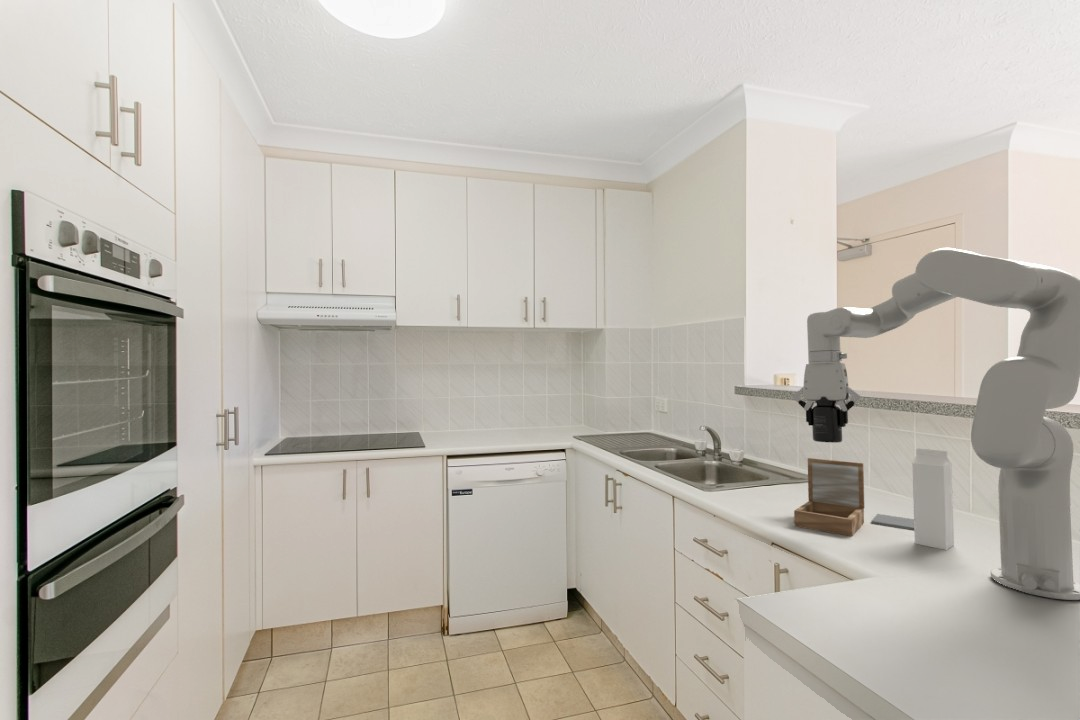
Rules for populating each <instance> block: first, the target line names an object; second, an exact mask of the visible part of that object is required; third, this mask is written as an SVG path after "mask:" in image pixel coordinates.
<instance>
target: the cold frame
mask: <svg viewBox="0 0 1080 720" xmlns="http://www.w3.org/2000/svg"><path fill="white" fill-rule="evenodd" d="M864 480H865V479H864V463H863V462H853V461H845V460H833V459H825V458H824V459H822V458H811V457H808V458H807V487H808V488H807V489H808V498H807V499H808V501H807V502H805V503H803V504H802V505H800V506H799V507H797V508H796V509H795V510H794V511H793V513H794V517H793V519H794V520H793V521H794V527H798V528H802V529H803V528H804V529H808V530H809V529H810V530H814V531H821V532H826V533H831V534H837V535H842V536H843V535H844V536H847V537H853V536H854V535H855V534H856V533H857V531H858V530H859V529H861V528H862V526H863V525H864V524H863V523H865V511H864V509H865V483H864V482H865V481H864Z"/></svg>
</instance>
